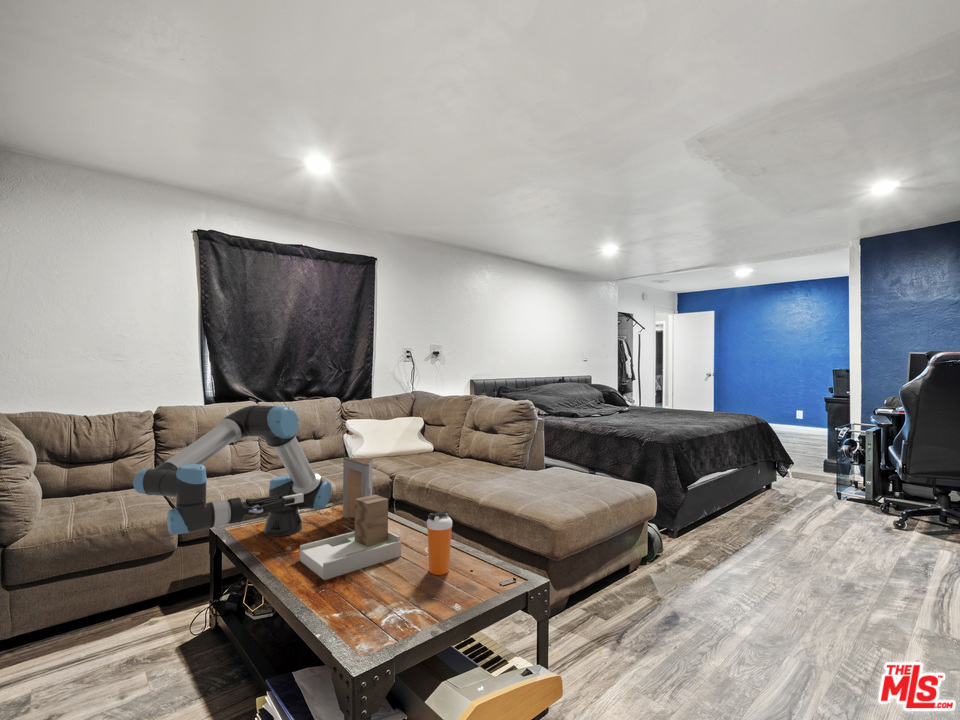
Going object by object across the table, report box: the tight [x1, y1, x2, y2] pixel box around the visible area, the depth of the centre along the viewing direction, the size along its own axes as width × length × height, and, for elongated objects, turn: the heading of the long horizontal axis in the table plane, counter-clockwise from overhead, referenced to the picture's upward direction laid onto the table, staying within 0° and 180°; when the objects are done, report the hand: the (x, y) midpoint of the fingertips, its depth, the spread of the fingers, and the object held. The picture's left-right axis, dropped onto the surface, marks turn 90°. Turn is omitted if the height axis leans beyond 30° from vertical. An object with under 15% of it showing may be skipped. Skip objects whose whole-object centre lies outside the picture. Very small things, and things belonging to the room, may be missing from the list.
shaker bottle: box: [426, 510, 453, 576], centre depth 164 cm, size 9×9×20 cm
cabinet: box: [342, 456, 373, 524], centre depth 215 cm, size 21×10×28 cm, turn 43°
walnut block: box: [354, 494, 389, 547], centre depth 180 cm, size 9×9×16 cm
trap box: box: [299, 530, 402, 581], centre depth 173 cm, size 21×30×7 cm
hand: (302, 497), depth 161 cm, fingers closed
